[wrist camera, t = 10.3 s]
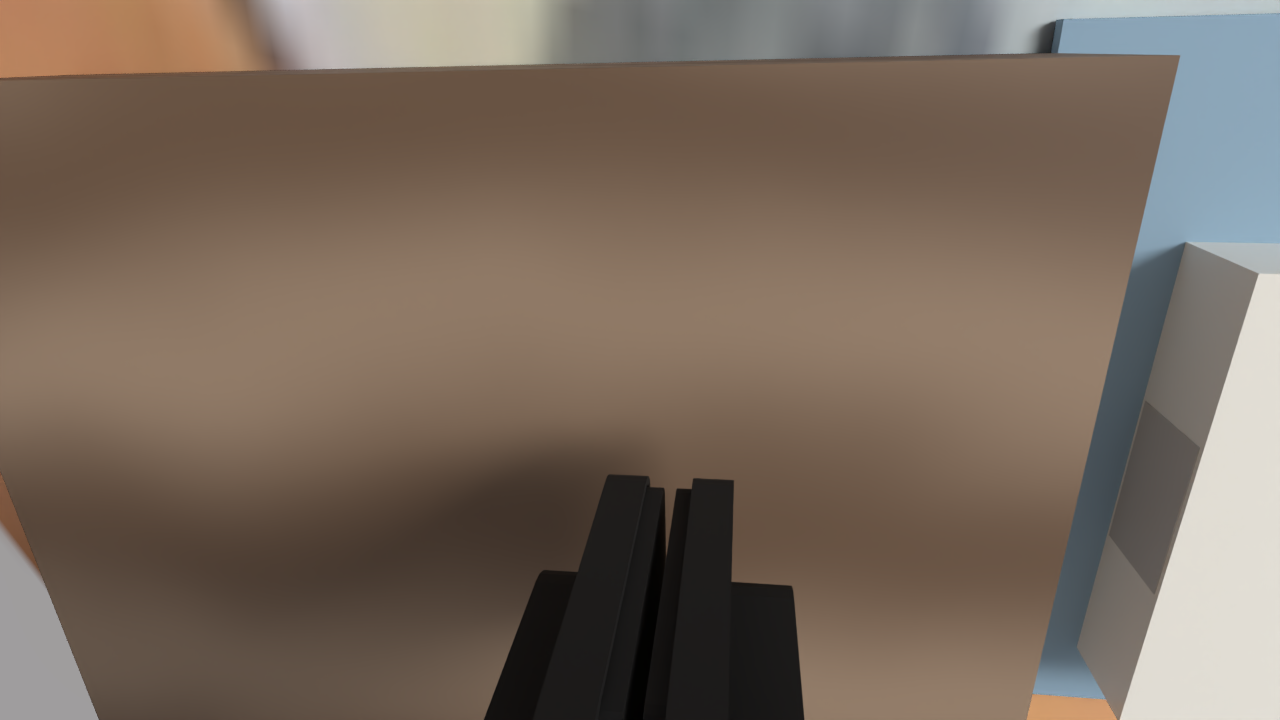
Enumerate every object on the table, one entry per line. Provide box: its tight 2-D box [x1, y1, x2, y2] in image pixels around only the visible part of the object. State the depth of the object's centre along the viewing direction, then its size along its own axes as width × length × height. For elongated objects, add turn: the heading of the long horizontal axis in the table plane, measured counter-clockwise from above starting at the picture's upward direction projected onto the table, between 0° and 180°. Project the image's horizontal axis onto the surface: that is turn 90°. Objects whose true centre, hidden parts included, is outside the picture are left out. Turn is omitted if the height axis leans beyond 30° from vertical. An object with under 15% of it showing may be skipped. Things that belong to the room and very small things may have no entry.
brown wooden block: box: [0, 53, 1180, 720], centre depth 14 cm, size 14×18×4 cm
